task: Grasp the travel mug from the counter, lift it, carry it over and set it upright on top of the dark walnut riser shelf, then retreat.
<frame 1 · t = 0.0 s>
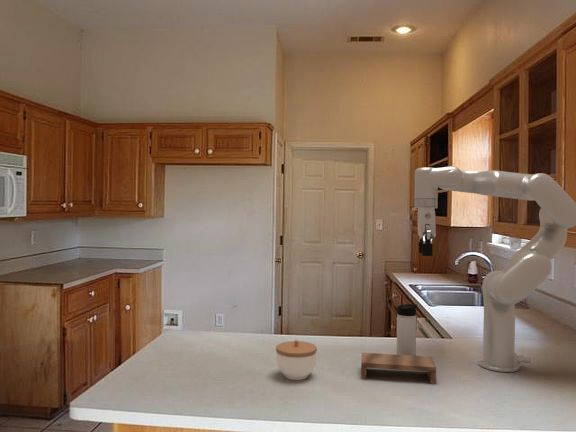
hand: (425, 254, 155), 37 cm above the counter, tool pointing down, fingers open, 9 cm apart
travel mug: (406, 364, 154), on the counter
riser shelf: (396, 375, 143), on the counter
lidded bowl: (296, 376, 142), on the counter
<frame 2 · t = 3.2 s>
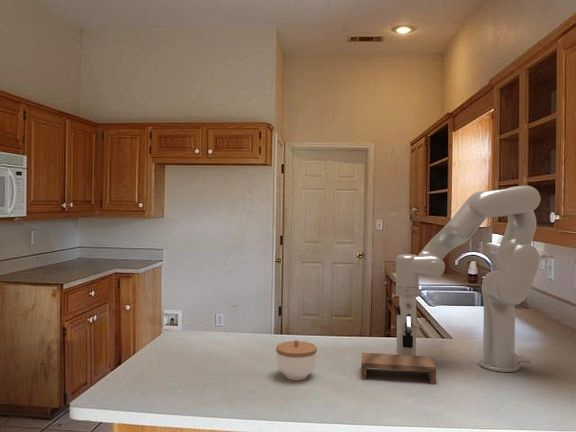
hand: (406, 343, 154), 7 cm above the counter, tool pointing down, fingers closed on travel mug, 6 cm apart
travel mug: (406, 364, 154), on the counter, touching gripper
everything else where it was.
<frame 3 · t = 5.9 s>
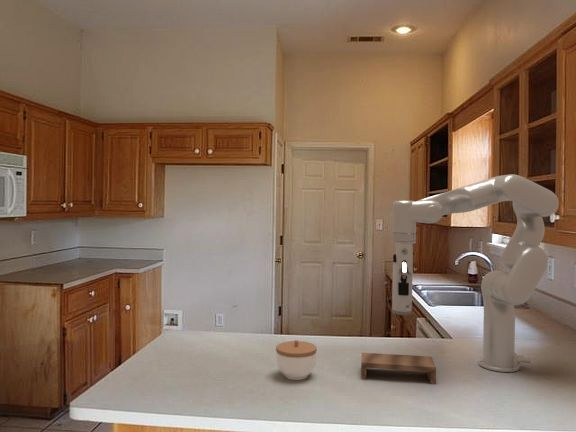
hand: (402, 292, 149), 25 cm above the counter, tool pointing down, fingers closed on travel mug, 6 cm apart
travel mug: (402, 313, 149), point 18 cm above the counter, touching gripper
everything else where it was.
when the fingers open (13 cm above the counter, at t = 8.9 s): travel mug drops 2 cm, resting on riser shelf.
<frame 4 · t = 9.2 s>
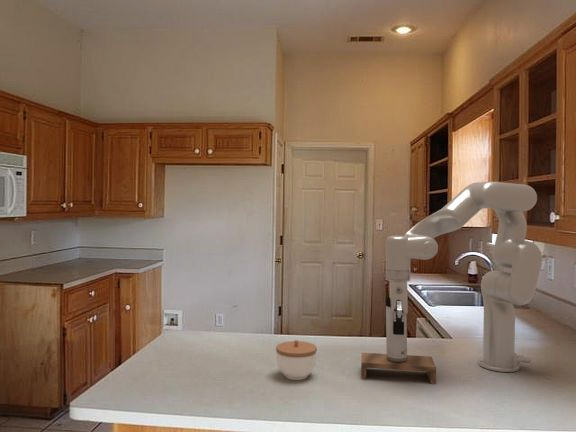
hand: (397, 330, 143), 14 cm above the counter, tool pointing down, fingers open, 9 cm apart
travel mug: (397, 359, 143), point 5 cm above the counter, touching riser shelf
everything else where it was.
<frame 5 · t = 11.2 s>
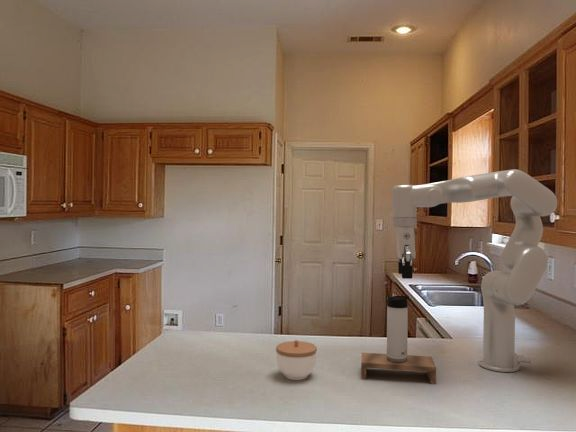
hand: (405, 275, 148), 30 cm above the counter, tool pointing down, fingers open, 9 cm apart
nothing on the counter moved.
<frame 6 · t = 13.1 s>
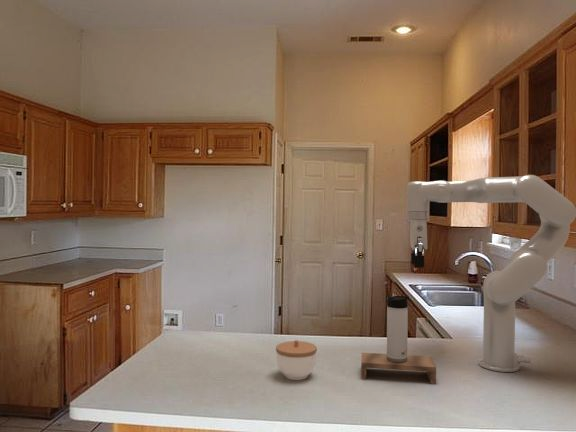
hand: (417, 265, 160), 32 cm above the counter, tool pointing down, fingers open, 9 cm apart
nothing on the counter moved.
at the end: travel mug inside the target area on the riser shelf (0.1 cm from its centre), point 4.8 cm above the riser shelf's base; travel mug tilted 0°; the gripper is holding nothing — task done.
